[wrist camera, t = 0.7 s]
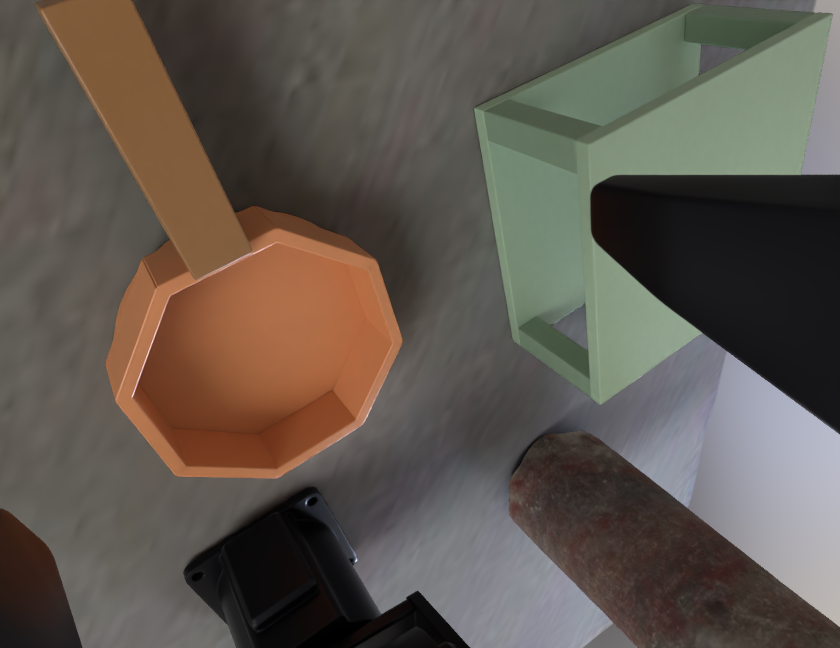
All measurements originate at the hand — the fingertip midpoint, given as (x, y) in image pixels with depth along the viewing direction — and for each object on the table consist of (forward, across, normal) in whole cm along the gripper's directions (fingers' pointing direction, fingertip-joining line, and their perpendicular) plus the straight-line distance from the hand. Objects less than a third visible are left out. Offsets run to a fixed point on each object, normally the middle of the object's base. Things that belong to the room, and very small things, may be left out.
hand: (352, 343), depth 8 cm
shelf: (+12, -17, +9) cm, 23 cm away
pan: (+12, 0, +4) cm, 13 cm away
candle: (+12, -12, +27) cm, 32 cm away
